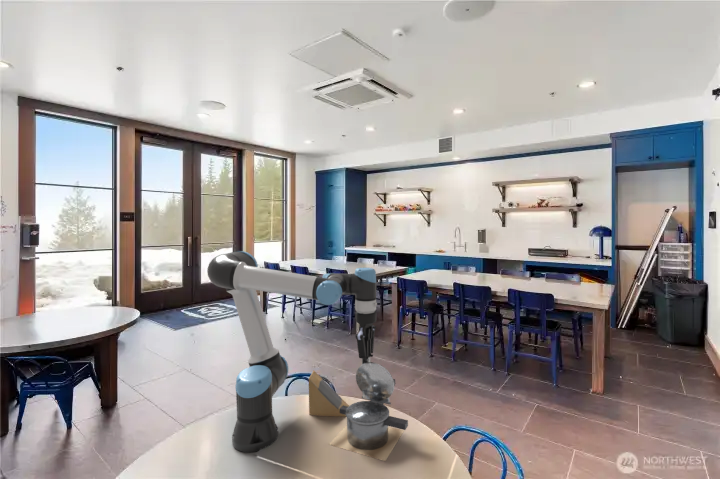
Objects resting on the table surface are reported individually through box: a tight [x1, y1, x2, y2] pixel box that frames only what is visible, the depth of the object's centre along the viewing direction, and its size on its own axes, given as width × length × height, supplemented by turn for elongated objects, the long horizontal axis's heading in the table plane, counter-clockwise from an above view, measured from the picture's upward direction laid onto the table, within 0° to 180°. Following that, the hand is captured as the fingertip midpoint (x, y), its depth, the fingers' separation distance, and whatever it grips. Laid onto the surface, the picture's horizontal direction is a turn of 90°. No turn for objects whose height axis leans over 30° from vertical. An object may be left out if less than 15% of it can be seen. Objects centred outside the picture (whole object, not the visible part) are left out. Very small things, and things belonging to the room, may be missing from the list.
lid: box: [355, 361, 397, 406], centre depth 131 cm, size 14×15×3 cm
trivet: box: [328, 424, 405, 462], centre depth 126 cm, size 20×18×1 cm
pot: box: [340, 400, 409, 450], centre depth 125 cm, size 24×16×9 cm, turn 64°
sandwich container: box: [308, 370, 350, 417], centre depth 143 cm, size 9×15×15 cm, turn 85°
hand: (366, 374), depth 134 cm, fingers closed
